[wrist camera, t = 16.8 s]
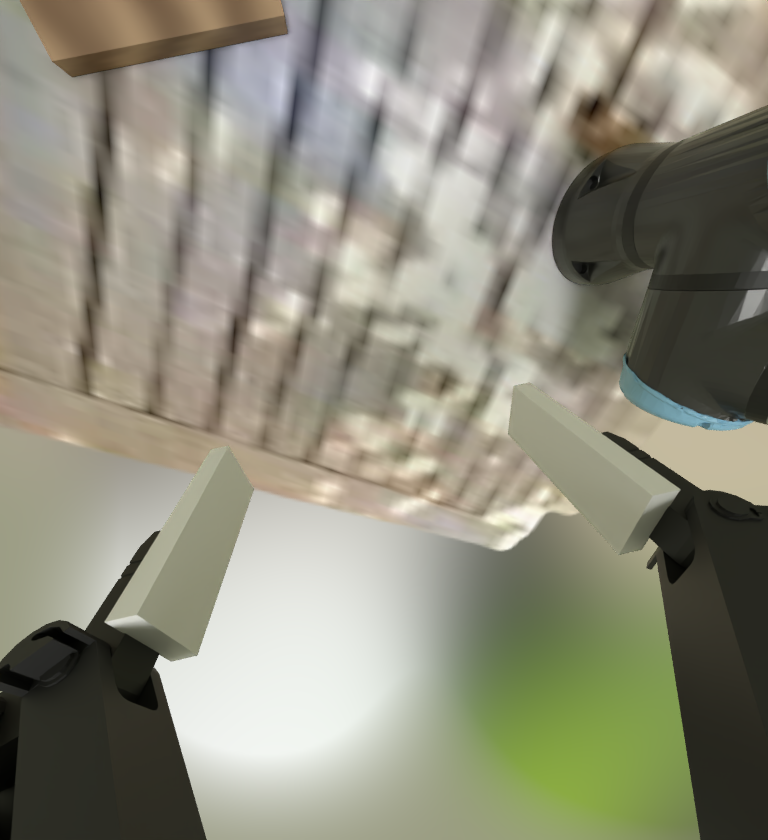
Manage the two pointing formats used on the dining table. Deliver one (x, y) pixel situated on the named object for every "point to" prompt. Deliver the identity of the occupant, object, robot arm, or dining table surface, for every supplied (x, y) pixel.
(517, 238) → the dining table surface
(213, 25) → the brown square tray
